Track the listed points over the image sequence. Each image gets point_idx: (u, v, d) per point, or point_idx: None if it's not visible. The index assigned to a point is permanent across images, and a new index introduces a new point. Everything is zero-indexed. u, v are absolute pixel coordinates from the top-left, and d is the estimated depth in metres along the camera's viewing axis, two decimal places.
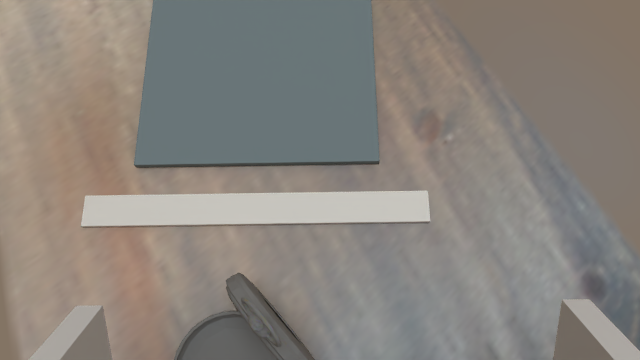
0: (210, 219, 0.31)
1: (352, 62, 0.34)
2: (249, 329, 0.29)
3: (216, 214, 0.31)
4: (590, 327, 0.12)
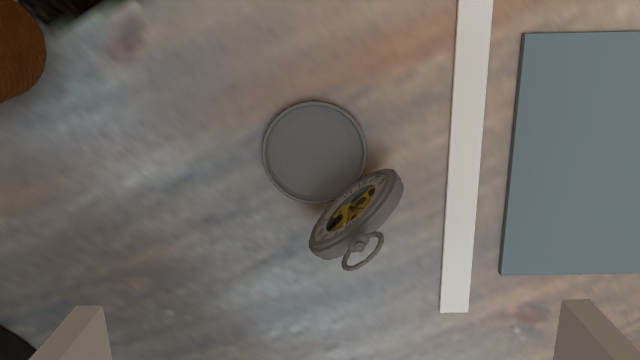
0: (456, 121, 0.31)
1: (611, 253, 0.33)
2: (350, 164, 0.32)
3: (461, 126, 0.31)
4: (589, 327, 0.12)
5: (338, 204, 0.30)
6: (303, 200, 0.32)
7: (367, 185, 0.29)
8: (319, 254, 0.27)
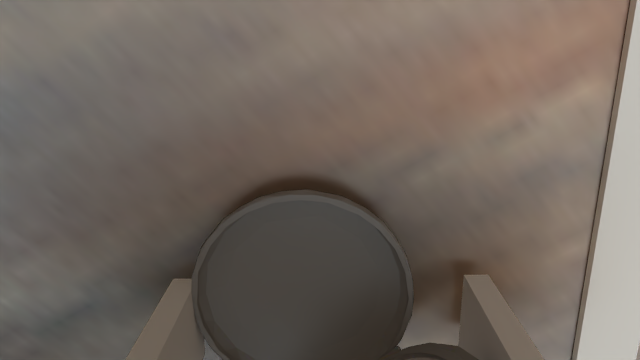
0: (610, 217, 0.15)
1: None
2: (376, 310, 0.15)
3: (619, 228, 0.15)
4: (479, 297, 0.14)
5: None
6: None
7: None
8: None
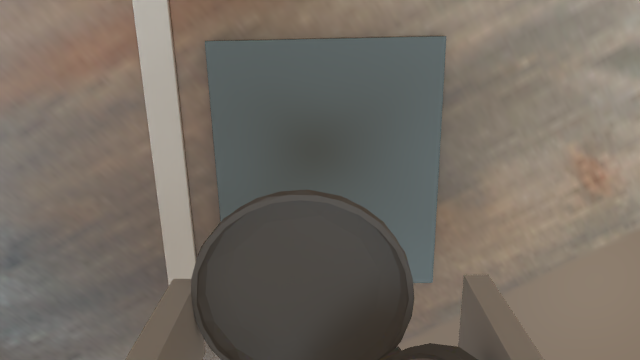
0: (153, 129, 0.30)
1: None
2: (376, 311, 0.15)
3: (159, 135, 0.30)
4: (479, 297, 0.14)
5: None
6: None
7: None
8: None
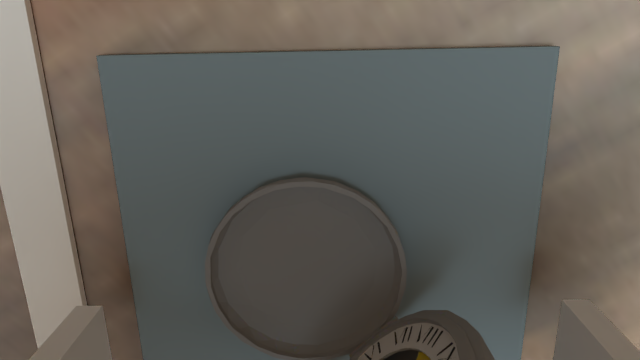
0: (16, 214, 0.17)
1: None
2: (374, 285, 0.17)
3: (27, 223, 0.17)
4: (589, 327, 0.12)
5: None
6: (290, 357, 0.17)
7: (414, 347, 0.14)
8: None
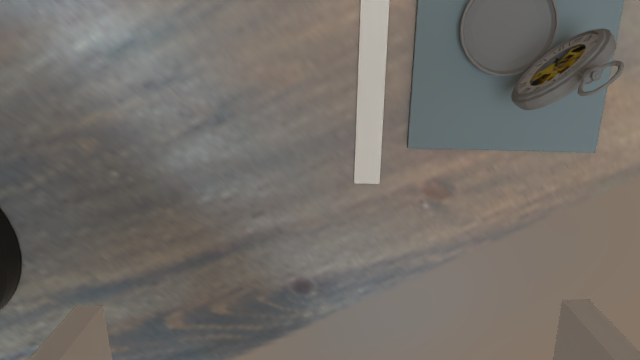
0: None
1: (508, 130, 0.36)
2: (538, 38, 0.34)
3: (369, 2, 0.34)
4: (589, 327, 0.12)
5: (533, 71, 0.33)
6: (495, 73, 0.34)
7: (567, 48, 0.32)
8: (536, 101, 0.30)
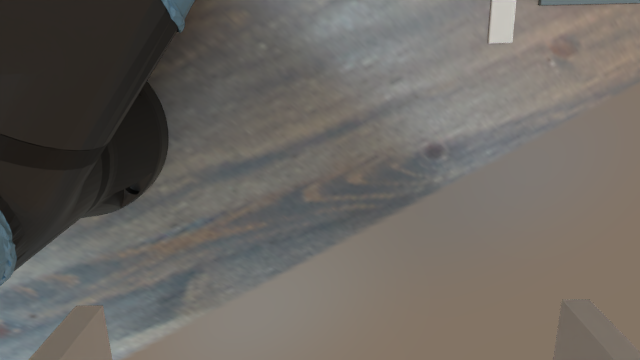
0: None
1: None
2: None
3: None
4: (590, 327, 0.12)
5: None
6: None
7: None
8: None
